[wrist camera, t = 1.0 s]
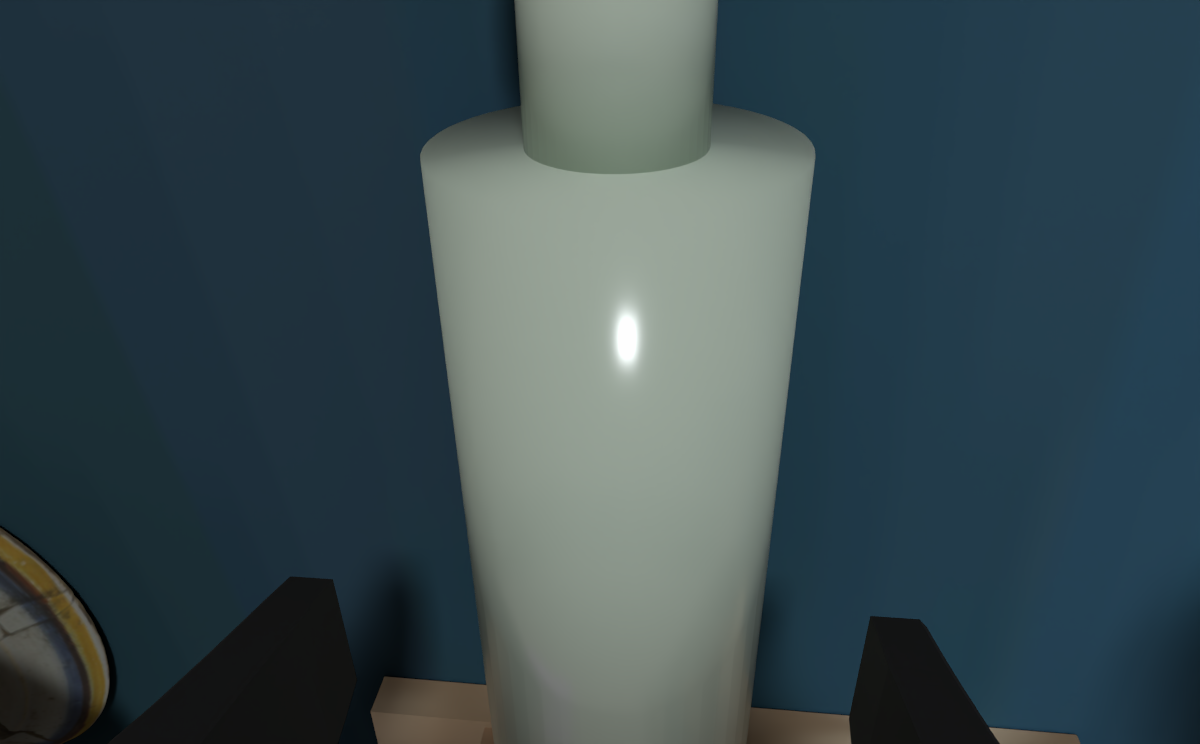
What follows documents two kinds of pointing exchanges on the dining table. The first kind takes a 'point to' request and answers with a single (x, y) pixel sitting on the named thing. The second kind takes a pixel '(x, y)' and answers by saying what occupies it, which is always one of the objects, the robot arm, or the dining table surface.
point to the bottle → (618, 371)
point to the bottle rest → (465, 739)
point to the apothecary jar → (45, 653)
